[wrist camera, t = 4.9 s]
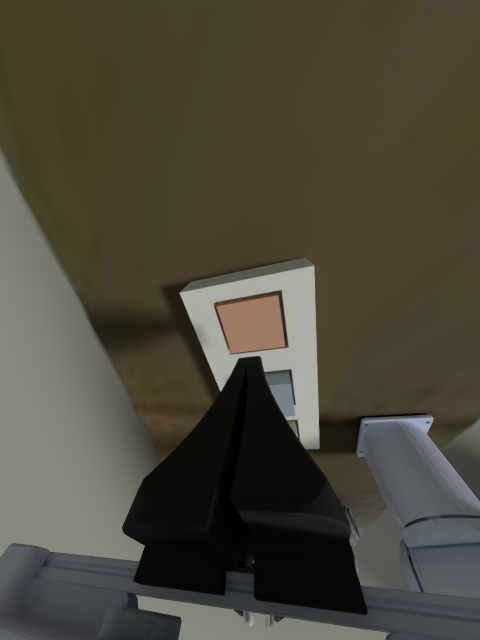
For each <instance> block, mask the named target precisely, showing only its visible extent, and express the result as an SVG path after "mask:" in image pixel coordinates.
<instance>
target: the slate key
mask: <svg viewBox="0 0 480 640" xmlns="http://www.w3.org/2000/svg"><path fill="white" fill-rule="evenodd" d="M264 373H265V377H266V380H267V383H268V385H269V387H270V390H271V392H272V394H273V396H274V398H275V400H276V402H277V404H278V406H279V408H280V410H281V411H282V413H283V415H284V417H289V416H295V410H294V403H293V395H292V387H291V381H290V376H289V371H288V370H278V371H269V372H264Z"/></svg>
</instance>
